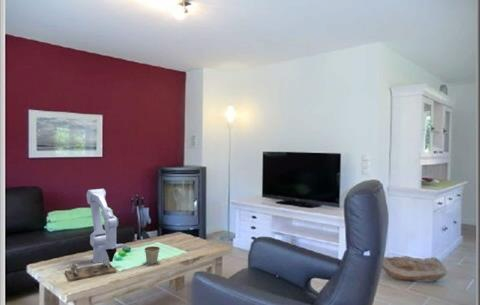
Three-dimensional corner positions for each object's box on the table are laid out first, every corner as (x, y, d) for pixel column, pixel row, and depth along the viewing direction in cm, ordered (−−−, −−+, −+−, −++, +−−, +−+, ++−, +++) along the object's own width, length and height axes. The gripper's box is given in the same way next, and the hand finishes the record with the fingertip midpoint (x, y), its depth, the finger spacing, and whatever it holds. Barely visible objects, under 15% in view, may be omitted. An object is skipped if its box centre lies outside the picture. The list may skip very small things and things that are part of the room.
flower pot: (158, 259, 221) (158, 245, 220) (160, 264, 212) (161, 250, 212) (143, 260, 217) (143, 246, 217) (144, 265, 208) (145, 251, 208)
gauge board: (109, 264, 209) (109, 255, 208) (116, 272, 197) (116, 262, 197) (64, 273, 195) (64, 263, 195) (69, 281, 183) (69, 271, 183)
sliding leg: (107, 263, 206) (107, 258, 206) (111, 267, 199) (111, 262, 199) (102, 264, 204) (102, 258, 204) (106, 268, 197) (106, 263, 197)
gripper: (99, 242, 197) (99, 265, 198) (125, 238, 206) (125, 261, 206) (96, 238, 203) (96, 262, 203) (122, 235, 211) (121, 257, 212)
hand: (110, 261), depth 205 cm, fingers closed
